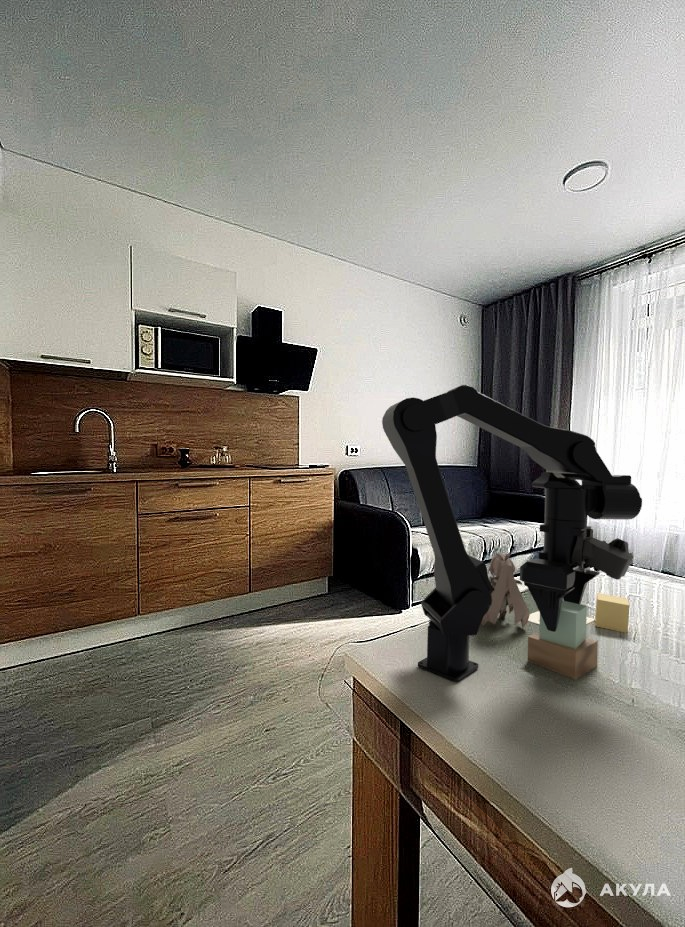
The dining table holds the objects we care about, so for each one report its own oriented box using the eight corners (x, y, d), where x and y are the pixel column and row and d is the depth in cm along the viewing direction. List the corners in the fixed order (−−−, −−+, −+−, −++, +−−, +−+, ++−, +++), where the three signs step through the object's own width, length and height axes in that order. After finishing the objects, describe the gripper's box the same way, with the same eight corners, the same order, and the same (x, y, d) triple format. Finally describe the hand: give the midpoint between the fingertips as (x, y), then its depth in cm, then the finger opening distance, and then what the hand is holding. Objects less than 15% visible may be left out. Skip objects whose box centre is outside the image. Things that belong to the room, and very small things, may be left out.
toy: (517, 612, 88) (526, 543, 83) (529, 641, 80) (540, 567, 75) (470, 609, 89) (476, 541, 84) (478, 638, 81) (485, 564, 76)
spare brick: (627, 632, 80) (629, 605, 80) (595, 626, 82) (597, 599, 82) (625, 624, 84) (627, 598, 84) (594, 618, 87) (596, 592, 87)
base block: (575, 681, 62) (575, 652, 62) (527, 662, 67) (528, 636, 67) (597, 668, 66) (597, 641, 66) (550, 651, 72) (551, 626, 72)
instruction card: (566, 633, 79) (566, 632, 79) (519, 618, 86) (519, 617, 86) (596, 620, 86) (596, 619, 86) (550, 607, 93) (550, 606, 93)
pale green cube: (575, 648, 63) (576, 613, 63) (539, 638, 67) (540, 605, 67) (585, 639, 67) (586, 605, 67) (550, 630, 70) (551, 598, 70)
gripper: (610, 531, 54) (607, 659, 54) (642, 520, 68) (639, 622, 68) (519, 521, 62) (516, 633, 62) (564, 513, 76) (561, 605, 76)
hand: (562, 623), depth 67 cm, fingers open, 9 cm apart
